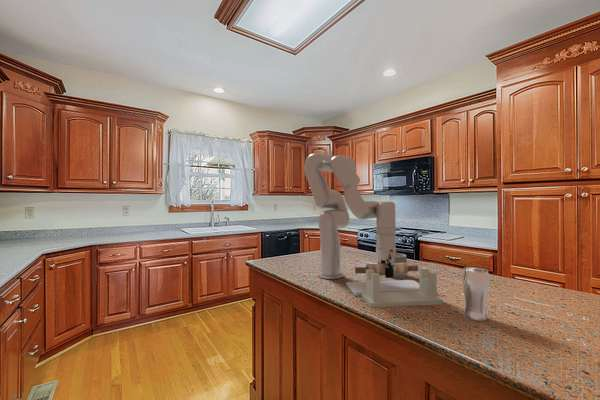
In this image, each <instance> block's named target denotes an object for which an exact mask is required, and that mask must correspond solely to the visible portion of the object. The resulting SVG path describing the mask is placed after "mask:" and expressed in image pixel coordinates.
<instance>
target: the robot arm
mask: <svg viewBox="0 0 600 400" xmlns="http://www.w3.org/2000/svg"><path fill="white" fill-rule="evenodd" d="M303 168H304V174H305V177H306V179H307V182H308V185H309V187H310V188H309V189H310V191H311V194H312V197H313V200H314V202H315V205H316V207H317V208H319V209H323V210H324V211H322V212H321V213H320V214H319V215H318V218H317V219H318V220H317V221H318V222H317V223H318V227H319V237H320V238H319V239H320V248H319V249H320V271H319V270H318V271H317V275H316V276H317V277H319V278H321V279H323V280H324V279H326V280H337V279H342V278H343V277H344V272H343V271H341V235H340V233H339V230H340V229H344V228H346V227H347V226H348V225H349V224H350V215H349V211H351V213H352V215H353V216H354V217H355V218H357V219H359V220H370V219H376V223H375V224H376V243H375V256H376V257H377V258H378V259H380V264H382V263H386V268H385V275H384V277H385V278H386V279H394V278H393V268H394V264H395V259H396V253H397V248H396V247H397V246H396V234H397V231H396V230H397V228H396V225H397V224H396V223H397V221H396V203H395V202H393V201H374V200H373V201H372V200H368V201H367V200H364V198H363V197H362V196H361V194H360V192H359V189H358V186H359V184H360V182H361V178H360V177H359V175H358V174H357V172H356V170H357V163H356V161H355V159H354V158H352V157H351V156H346V155H333V154H332V155H331V154H327V153H326V154H325V153H320V152H316V153H315V152H314V153H311V154H309V155H308V156H307V157H306V159H305V162H304V167H303ZM322 172H326V173H333V174H334V176H335V177H336V179H337V181H338V182H339V184H340V185H341V186H342V189H343V195H344V197H343V195H342V194H341V193H340V191H338V190H336V189H330V187H329V185H328V183H327V182H328V181H327V180H326V177H325V176H324V175H323V174H322ZM347 207H348V208H347ZM325 209H327V210H325ZM348 209H349V211H348ZM388 259H390V260H388ZM388 262H389V264H388Z"/></svg>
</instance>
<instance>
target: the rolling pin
mask: <svg viewBox="0 0 600 400" xmlns="http://www.w3.org/2000/svg"><path fill="white" fill-rule="evenodd" d="M388 264H389V263H388ZM385 268H386V263H382V264H378V263H366V265H365V266H364V267H362V266H360V267H357V266H356V267H355V268H354V273H355V275H356V274H366V269H372V270H374V273H378V274H379V275H380V276H381V277H382V276H385ZM418 271H419V267H418V265H416V264H414V265H413V264H411V265H409V264H408V265H407V264H406V263H395V264H394V268H393V275H406V274H407V275H408V273H409V272H418Z"/></svg>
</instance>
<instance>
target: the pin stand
mask: <svg viewBox="0 0 600 400" xmlns="http://www.w3.org/2000/svg"><path fill="white" fill-rule="evenodd" d="M418 271H419V273H418V274H419V278H418V279H419V280H418V281H419V282H418V283H419V291H400V292H380V281H381V279H380V278H381V277H380V275H379V274H378V273H374V270H372V269H366V273H365V282H366V293H362V296H361V298H362V299H363V301H364V302H365V303H366V304H367V305H368V306H369V308H386V307H387V308H388V307H389V308H390V307H407V306H410V307H411V306H430V305H431V306H432V305H433V306H434V305H436V306H437V305H443V299H442V298H440V297H439V296H438V295H437V293H438V291H437V290H438V288H437V286H438V285H437V284H438V282H437V281H438V279H437V278H438V277H437V276H438V274H437V272H436V271H429V268H427V267H418Z"/></svg>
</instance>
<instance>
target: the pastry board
mask: <svg viewBox="0 0 600 400" xmlns="http://www.w3.org/2000/svg"><path fill="white" fill-rule="evenodd" d="M345 285H346V286H347V287H348V289H349V290H350V291H351V292H352V294H353V295H354V296H355V297H359V296H360V297H362V293H366V281H346V284H345ZM400 291H419V282H418V281H415V280H414V279H402V280H401V279H397V280H380V292H400Z"/></svg>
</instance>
